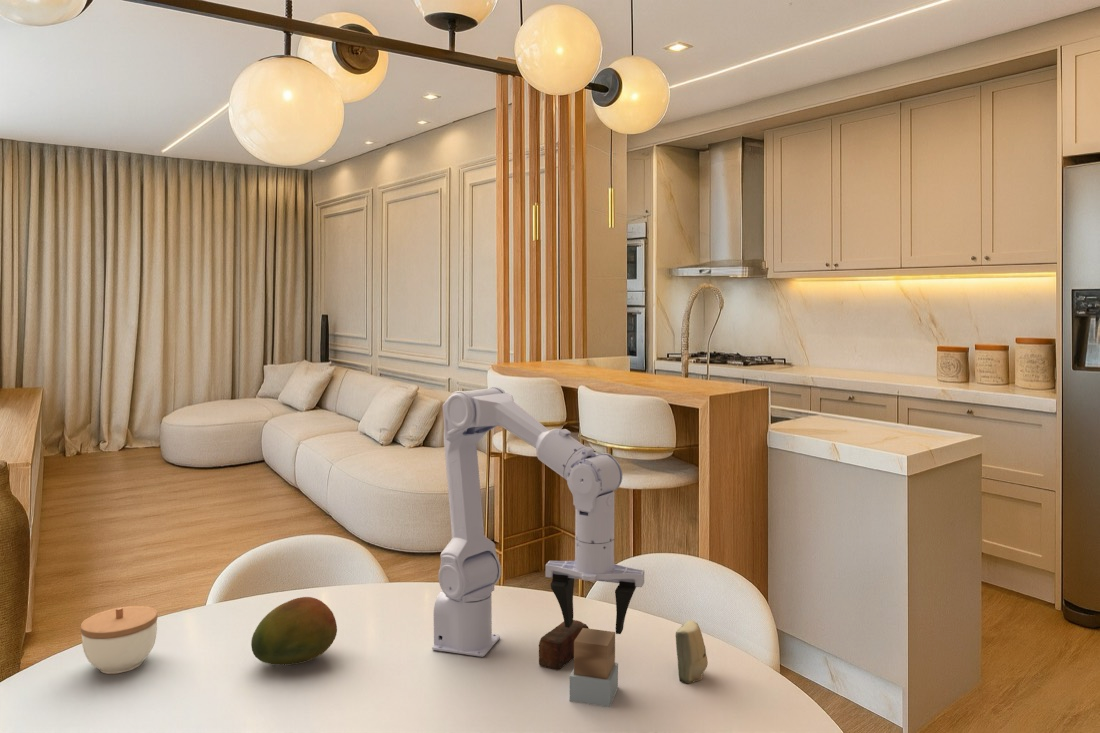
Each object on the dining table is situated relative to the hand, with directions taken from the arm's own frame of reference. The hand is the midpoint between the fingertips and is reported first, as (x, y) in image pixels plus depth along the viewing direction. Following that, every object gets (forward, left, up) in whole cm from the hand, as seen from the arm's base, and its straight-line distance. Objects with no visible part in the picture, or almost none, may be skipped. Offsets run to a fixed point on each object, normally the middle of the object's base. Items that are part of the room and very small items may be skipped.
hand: (594, 628), depth 111 cm
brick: (-8, +11, -10) cm, 17 cm away
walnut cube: (0, 0, -6) cm, 6 cm away
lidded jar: (-75, -13, -10) cm, 77 cm away
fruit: (-49, -4, -10) cm, 50 cm away
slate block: (0, 0, -10) cm, 10 cm away
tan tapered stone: (+13, +10, -10) cm, 19 cm away
